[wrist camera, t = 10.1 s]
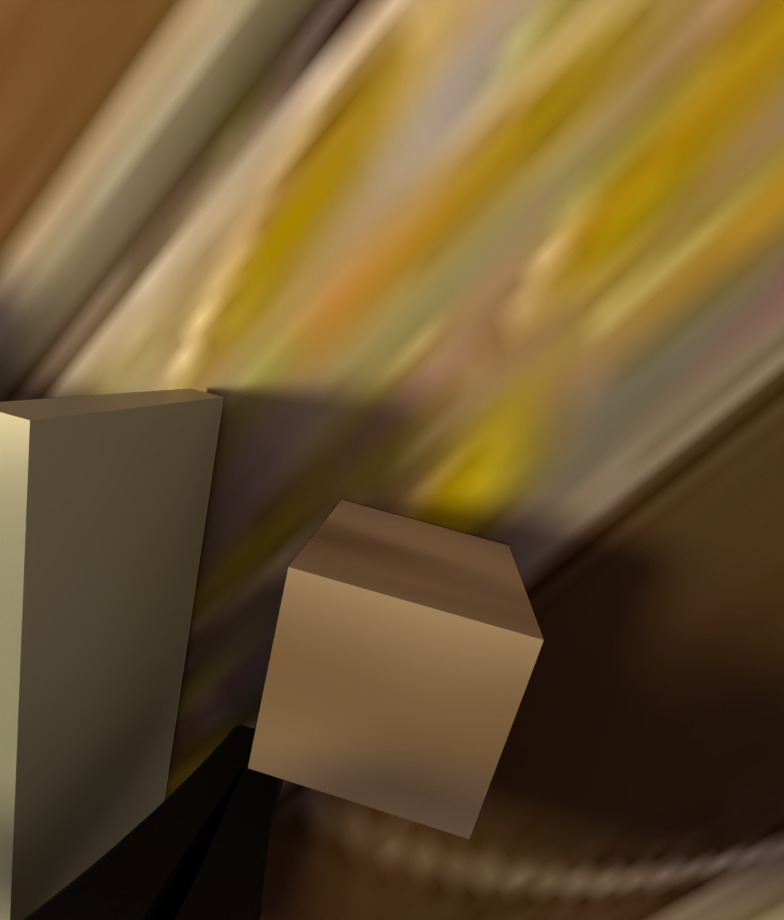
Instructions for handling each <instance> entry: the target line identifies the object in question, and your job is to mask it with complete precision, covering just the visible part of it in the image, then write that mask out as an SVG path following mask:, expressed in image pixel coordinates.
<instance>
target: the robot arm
mask: <svg viewBox="0 0 784 920" xmlns="http://www.w3.org/2000/svg"><path fill="white" fill-rule="evenodd" d="M255 730H256V729H253V728H250V727H246V726H243V725H238V726H236V727H234V729H233V730H232V731H231V732H230V733H229V734H228V736H227V737H226V738H225V739H224V740H223V741H222V742H221V744H220V745H219V746H218V747H217V748H216V749H215V750H214V751H213V752H212V753H211V754H210V756H209V757H208V758H207V759H206V760H205V761H204V762H203V763H202V764H201V765H200V766H199V767H198V768H197V769H196V770H195V771H194V772H193V773H192V774H191V775H190V776H189V777H188V778H187V779H186V780H185V781H184V782H183V783H182V784H181V785H180V786H179V787H178V788H177V789H176V790H175V791H174V792H173V793H172V794H171V795H170V796H169V797H168V798H167V799H166V800H165V801H164V802H163V803H162V804H161V805H160V806H158V807H157V808H156V809H155V810H154V811H153V812H152V813H151V814H150V815H149V816H148V817H146V818H145V819H144V820H143V821H142V822H141V823H140V824H139V825H138V826H136V827H135V828H134V829H133V830H132V831H131V832H130V833H129V834H128V835H126V836H125V837H124V838H123V839H122V840H121V841H120V842H119V843H117V844H116V845H115V846H114V847H113V848H112V849H111V850H109V851H108V852H107V853H106V854H105V855H104V856H102V857H101V858H100V859H99V860H98V861H96V862H95V863H94V864H93V865H92V866H90V867H89V868H88V869H87V870H86V871H84V872H83V873H82V874H81V875H79V876H78V877H77V878H76V879H74V880H73V881H72V882H71V883H70V884H68V885H67V886H66V887H65V888H63V889H62V890H61V891H60V892H58V893H57V894H56V895H54V896H53V897H52V898H51V899H49V900H48V901H47V902H45V903H44V904H43V905H41V906H40V907H39V908H37V909H36V910H35V911H33V912H32V913H31V914H30V915H28V916H27V917H26V918H24V919H23V920H260V914H261V902H262V892H263V882H264V872H265V863H266V855H267V847H268V840H269V834H270V827H271V822H272V819H273V816H274V813H275V810H276V807H277V804H278V800H279V796H280V792H281V787H282V783H283V779H280V778H277V777H274V776H271V775H268V774H265V773H261V772H258V771H255V770H252V769H249V768H248V765H249V760H250V755H251V750H252V745H253V740H254V735H255Z"/></svg>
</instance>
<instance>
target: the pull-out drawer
mask: <svg viewBox="0 0 784 920" xmlns="http://www.w3.org/2000/svg"><path fill="white" fill-rule="evenodd" d="M223 399H224V397H221V396H218V395H214V394H210V393H206V392H202V391H199V390H195V389H191V388H190V389H176V390H162V391H147V392H133V393H119V394H105V395H90V396H76V397H62V398H47V399H33V400H19V401H5V402H0V920H23V919H24V918H26V917H27V916H28V915H30V914H31V913H32V912H33V911H35V910H36V909H37V908H39V907H40V906H41V905H43V904H44V903H45V902H47V901H48V900H49V899H51V898H52V897H53V896H54V895H56V894H57V893H58V892H60V891H61V890H62V889H63V888H65V887H66V886H67V885H68V884H70V883H71V882H72V881H73V880H74V879H76V878H77V877H78V876H79V875H81V874H82V873H83V872H84V871H86V870H87V869H88V868H89V867H90V866H92V865H93V864H94V863H95V862H96V861H98V860H99V859H100V858H101V857H102V856H104V855H105V854H106V853H107V852H108V851H109V850H111V849H112V848H113V847H114V846H115V845H116V844H117V843H119V842H120V841H121V840H122V839H123V838H124V837H125V836H126V835H128V834H129V833H130V832H131V831H132V830H133V829H134V828H135V827H136V826H138V825H139V824H140V823H141V822H142V821H143V820H144V819H145V818H146V817H148V816H149V815H150V814H151V813H152V812H153V811H154V810H155V809H156V808H157V807H158V806H160V805H161V804H162V803H163V802H164V801H165V794H166V788H167V781H168V774H169V767H170V760H171V754H172V747H173V740H174V733H175V726H176V719H177V713H178V706H179V699H180V692H181V685H182V679H183V672H184V665H185V658H186V651H187V645H188V638H189V631H190V624H191V617H192V610H193V604H194V597H195V590H196V583H197V576H198V570H199V563H200V556H201V549H202V542H203V535H204V529H205V522H206V515H207V508H208V501H209V495H210V488H211V481H212V474H213V467H214V461H215V454H216V447H217V440H218V433H219V426H220V420H221V413H222V406H223Z"/></svg>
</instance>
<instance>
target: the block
mask: <svg viewBox="0 0 784 920" xmlns="http://www.w3.org/2000/svg"><path fill="white" fill-rule="evenodd" d="M543 641H544V639H543V636H542V634H541V631H540V628H539V626H538V623H537V620H536V618H535V615H534V612H533V610H532V607H531V604H530V601H529V599H528V596H527V593H526V591H525V588H524V585H523V583H522V580H521V577H520V575H519V572H518V569H517V566H516V564H515V561H514V558H513V556H512V553H511V550H510V548H509V545H505V544H502V543H498V542H494V541H491V540H487V539H483V538H480V537H476V536H472V535H469V534H465V533H461V532H458V531H454V530H450V529H447V528H443V527H439V526H436V525H432V524H428V523H425V522H421V521H418V520H414V519H410V518H407V517H403V516H399V515H396V514H392V513H388V512H385V511H381V510H377V509H374V508H370V507H366V506H363V505H359V504H355V503H352V502H348V501H344V500H341V501H340V502H339V504H338V505H337V506H336V507H335V509H334V510H333V511H332V513H331V514H330V515H329V516H328V518H327V519H326V520H325V521H324V523H323V524H322V525H321V526H320V528H319V529H318V530H317V531H316V533H315V534H314V535H313V537H312V538H311V539H310V540H309V542H308V543H307V544H306V545H305V547H304V548H303V549H302V550H301V552H300V553H299V554H298V555H297V557H296V558H295V559H294V561H293V562H292V563H291V564H290V566H289V567H288V571H287V576H286V581H285V586H284V591H283V596H282V601H281V606H280V611H279V616H278V621H277V626H276V631H275V636H274V641H273V646H272V651H271V656H270V661H269V666H268V671H267V676H266V680H265V685H264V690H263V695H262V700H261V705H260V710H259V715H258V720H257V725H256V730H255V735H254V740H253V745H252V750H251V755H250V760H249V765H248V768H249V769H252V770H255V771H258V772H261V773H265V774H268V775H271V776H274V777H277V778H280V779H283V780H286V781H290V782H293V783H296V784H299V785H302V786H305V787H308V788H311V789H314V790H318V791H321V792H324V793H327V794H330V795H333V796H336V797H339V798H342V799H346V800H349V801H352V802H355V803H358V804H361V805H364V806H367V807H371V808H374V809H377V810H380V811H383V812H386V813H389V814H392V815H395V816H399V817H402V818H405V819H408V820H411V821H414V822H417V823H420V824H424V825H427V826H430V827H433V828H436V829H439V830H442V831H445V832H448V833H452V834H455V835H458V836H461V837H464V838H467V839H470V836H471V833H472V831H473V828H474V825H475V823H476V820H477V817H478V815H479V812H480V809H481V807H482V804H483V801H484V799H485V796H486V793H487V791H488V788H489V785H490V783H491V780H492V777H493V775H494V772H495V769H496V767H497V764H498V761H499V759H500V756H501V753H502V751H503V748H504V745H505V743H506V740H507V737H508V735H509V732H510V729H511V727H512V724H513V721H514V719H515V716H516V713H517V711H518V708H519V705H520V703H521V700H522V697H523V695H524V692H525V689H526V687H527V684H528V681H529V679H530V676H531V673H532V671H533V668H534V665H535V663H536V660H537V657H538V655H539V652H540V649H541V646H542V644H543Z"/></svg>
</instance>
